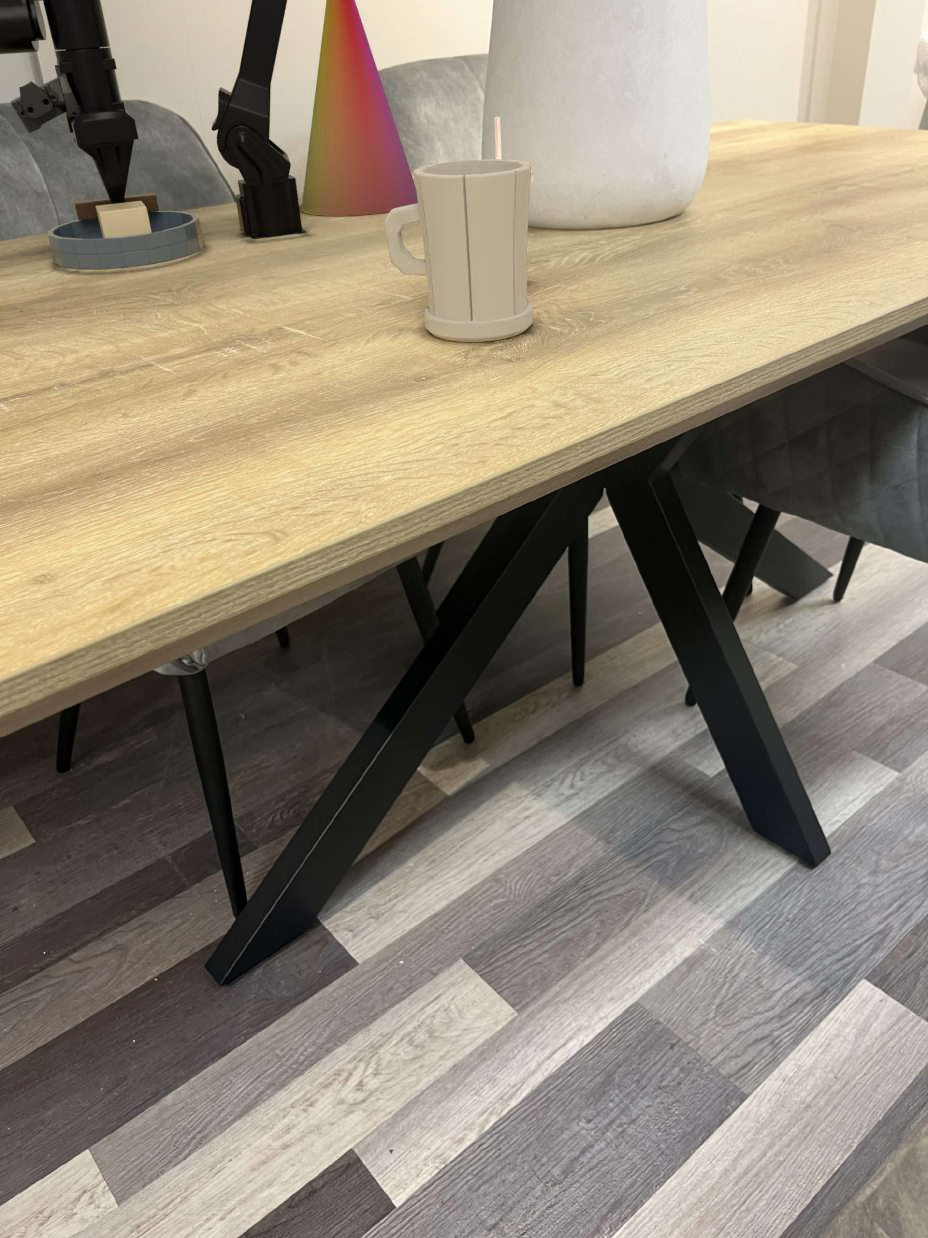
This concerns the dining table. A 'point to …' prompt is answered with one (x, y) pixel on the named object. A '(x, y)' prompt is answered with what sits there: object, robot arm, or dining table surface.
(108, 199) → the stick
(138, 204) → the block
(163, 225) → the bowl
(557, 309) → the dining table surface
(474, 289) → the cup
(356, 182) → the decorative cone
